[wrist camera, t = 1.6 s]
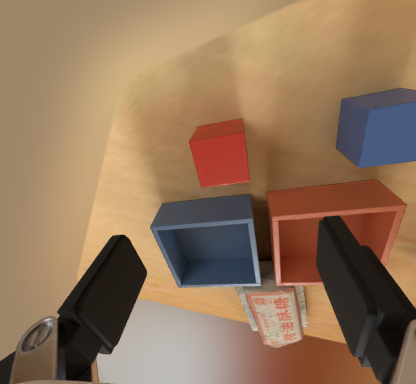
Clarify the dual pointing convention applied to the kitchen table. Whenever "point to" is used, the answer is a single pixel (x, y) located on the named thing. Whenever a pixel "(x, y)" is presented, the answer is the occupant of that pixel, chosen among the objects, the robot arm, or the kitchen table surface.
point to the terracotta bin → (316, 210)
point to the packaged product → (274, 308)
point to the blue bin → (209, 241)
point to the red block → (220, 153)
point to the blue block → (378, 128)
